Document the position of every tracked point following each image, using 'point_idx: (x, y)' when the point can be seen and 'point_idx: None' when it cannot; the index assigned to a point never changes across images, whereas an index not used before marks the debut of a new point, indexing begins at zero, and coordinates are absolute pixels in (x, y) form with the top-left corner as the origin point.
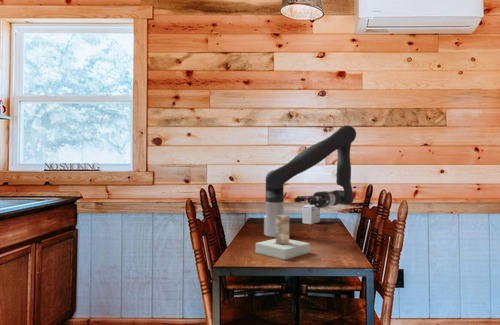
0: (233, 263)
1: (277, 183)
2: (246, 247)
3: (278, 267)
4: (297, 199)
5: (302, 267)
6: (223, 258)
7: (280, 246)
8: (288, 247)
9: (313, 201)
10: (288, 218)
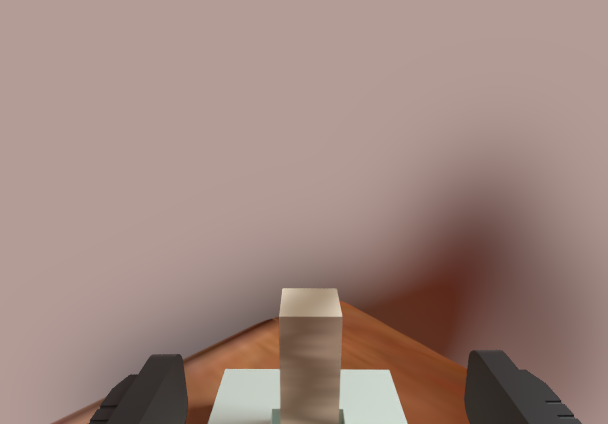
0: None
1: None
2: None
3: (205, 349)
4: (488, 401)
5: None
6: (380, 322)
7: (272, 391)
8: (233, 400)
9: (122, 391)
10: (279, 327)
